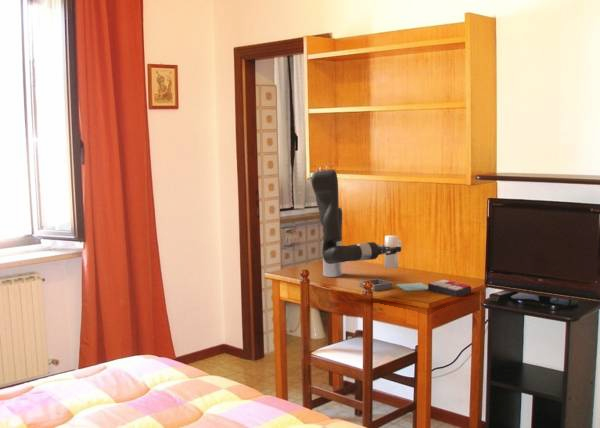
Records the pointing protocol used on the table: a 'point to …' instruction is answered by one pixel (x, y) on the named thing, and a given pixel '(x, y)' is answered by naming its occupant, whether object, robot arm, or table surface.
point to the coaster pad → (413, 287)
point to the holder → (379, 284)
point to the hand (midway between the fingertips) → (395, 248)
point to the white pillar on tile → (392, 259)
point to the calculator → (449, 288)
